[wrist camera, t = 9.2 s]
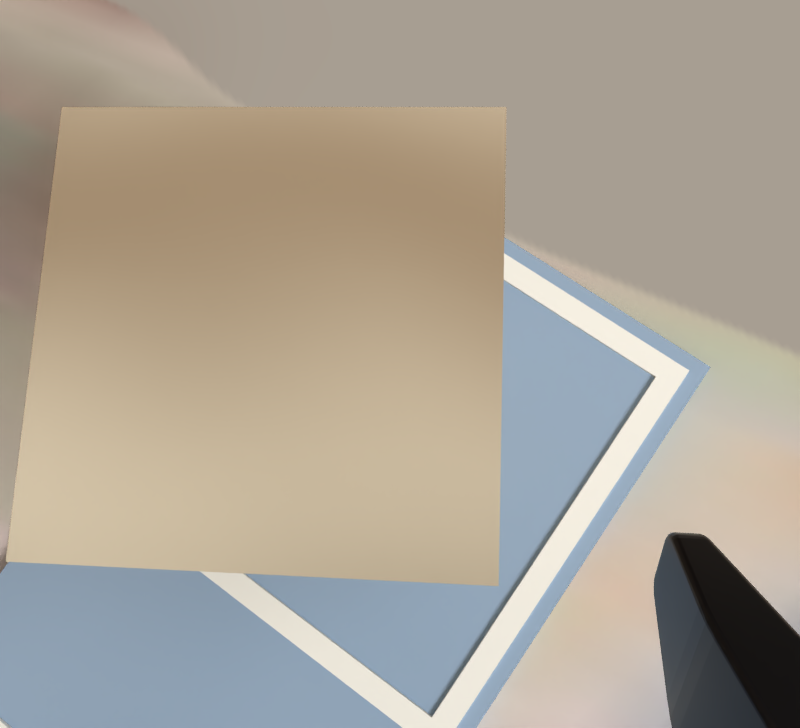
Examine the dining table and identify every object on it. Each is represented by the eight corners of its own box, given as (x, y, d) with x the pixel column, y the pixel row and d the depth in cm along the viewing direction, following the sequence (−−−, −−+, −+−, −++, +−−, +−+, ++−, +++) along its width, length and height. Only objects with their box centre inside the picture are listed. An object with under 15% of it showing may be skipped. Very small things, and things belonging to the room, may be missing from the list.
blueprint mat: (99, 1303, 16) (90, 1323, 16) (-266, 940, 18) (-282, 950, 18) (706, 369, 19) (712, 366, 18) (332, 132, 20) (329, 125, 20)
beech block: (467, 520, 18) (499, 586, 6) (291, 512, 18) (4, 562, 7) (471, 344, 19) (506, 107, 7) (301, 339, 19) (61, 106, 7)
